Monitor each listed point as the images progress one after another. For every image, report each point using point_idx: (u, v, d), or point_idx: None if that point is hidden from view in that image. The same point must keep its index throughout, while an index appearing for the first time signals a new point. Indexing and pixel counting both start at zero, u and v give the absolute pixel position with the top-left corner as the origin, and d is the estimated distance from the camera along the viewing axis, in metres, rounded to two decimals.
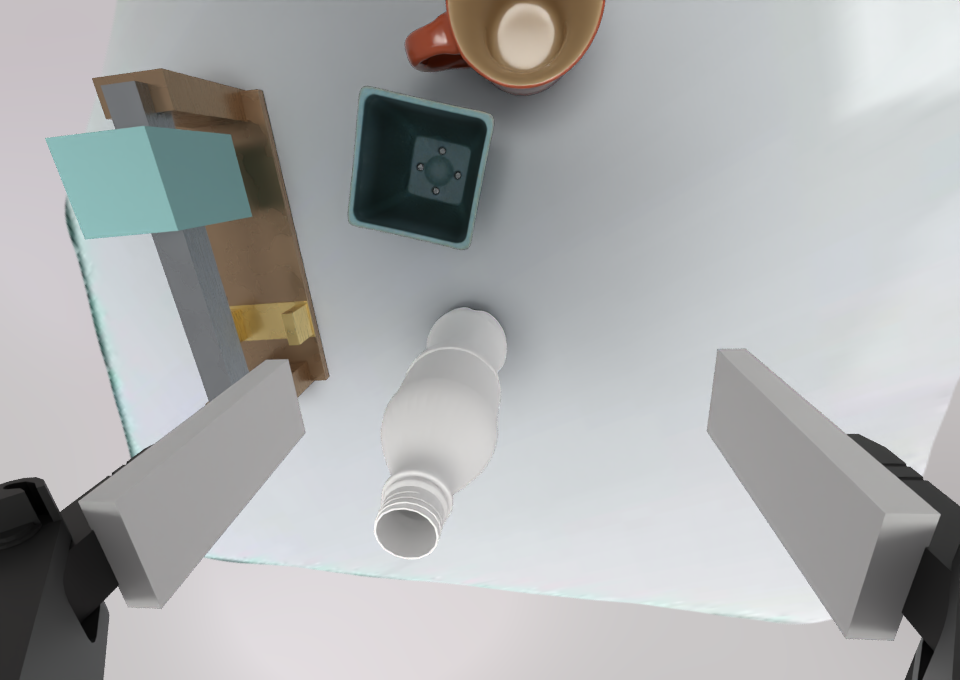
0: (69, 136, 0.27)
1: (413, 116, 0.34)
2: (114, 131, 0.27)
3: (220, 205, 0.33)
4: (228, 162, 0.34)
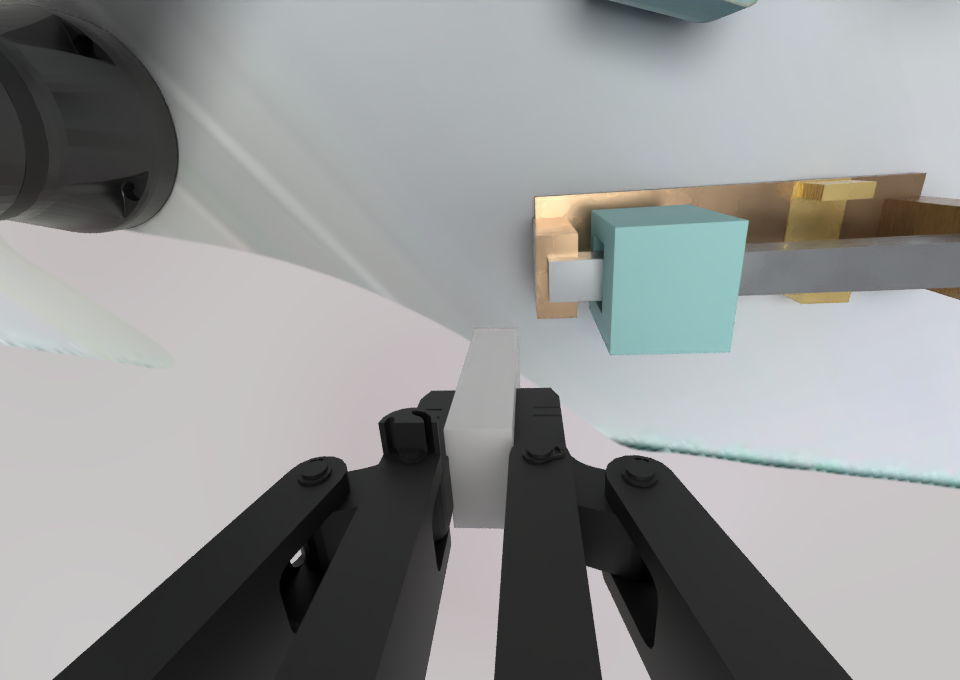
0: (612, 325, 0.23)
1: None
2: (615, 268, 0.22)
3: (687, 211, 0.26)
4: (626, 210, 0.28)
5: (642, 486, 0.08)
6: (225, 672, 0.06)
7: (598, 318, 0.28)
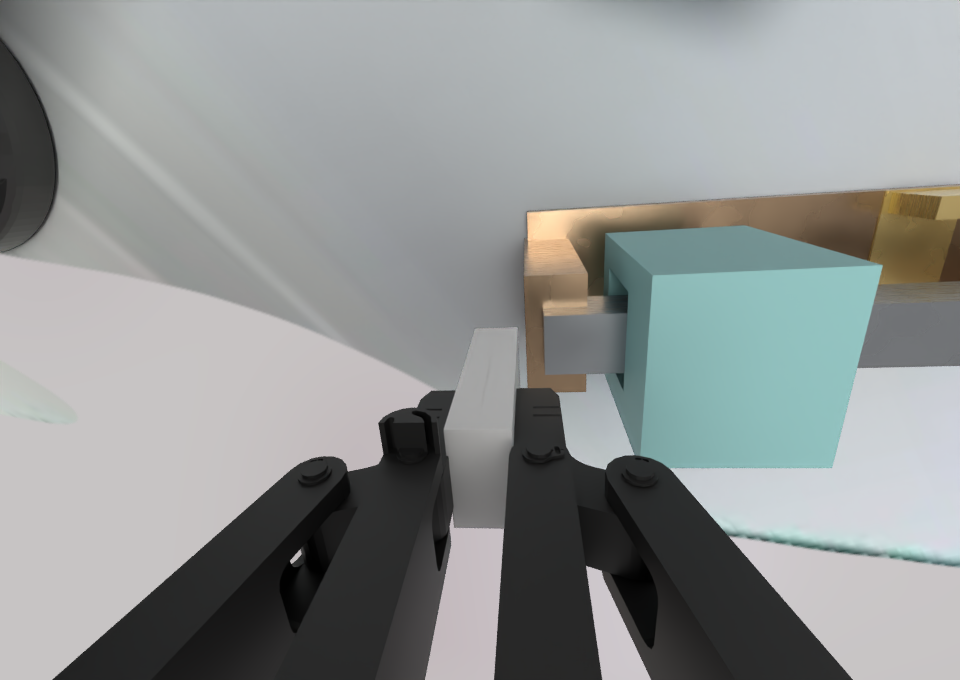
0: (644, 426, 0.15)
1: None
2: (651, 340, 0.14)
3: (754, 239, 0.17)
4: (657, 234, 0.19)
5: (642, 486, 0.08)
6: (225, 672, 0.06)
7: (617, 392, 0.19)
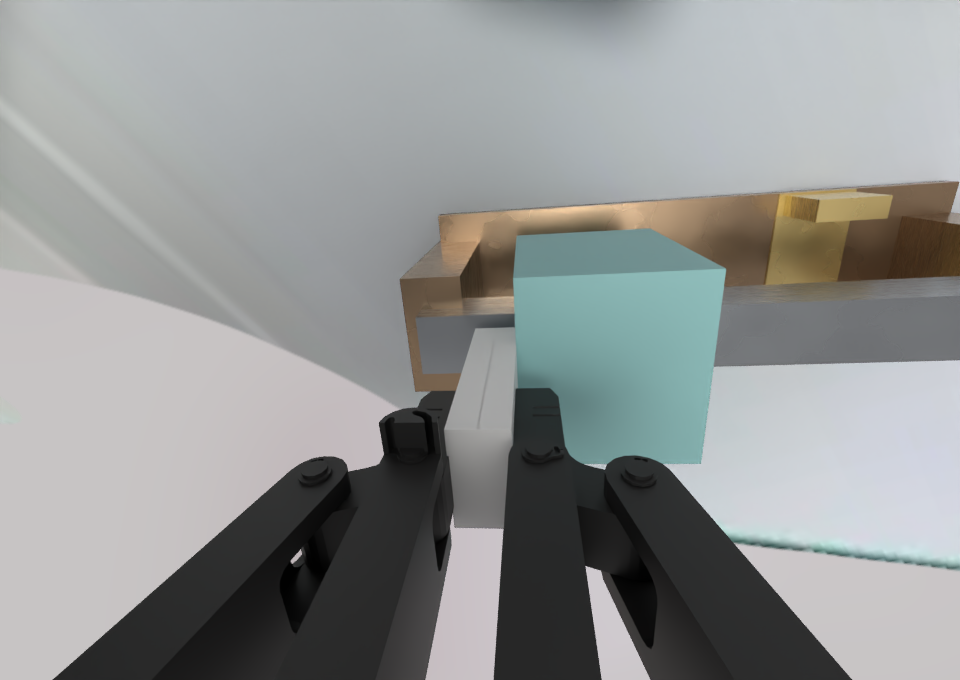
0: None
1: None
2: (518, 340, 0.14)
3: (642, 242, 0.17)
4: (561, 237, 0.20)
5: (641, 486, 0.08)
6: (225, 672, 0.06)
7: None
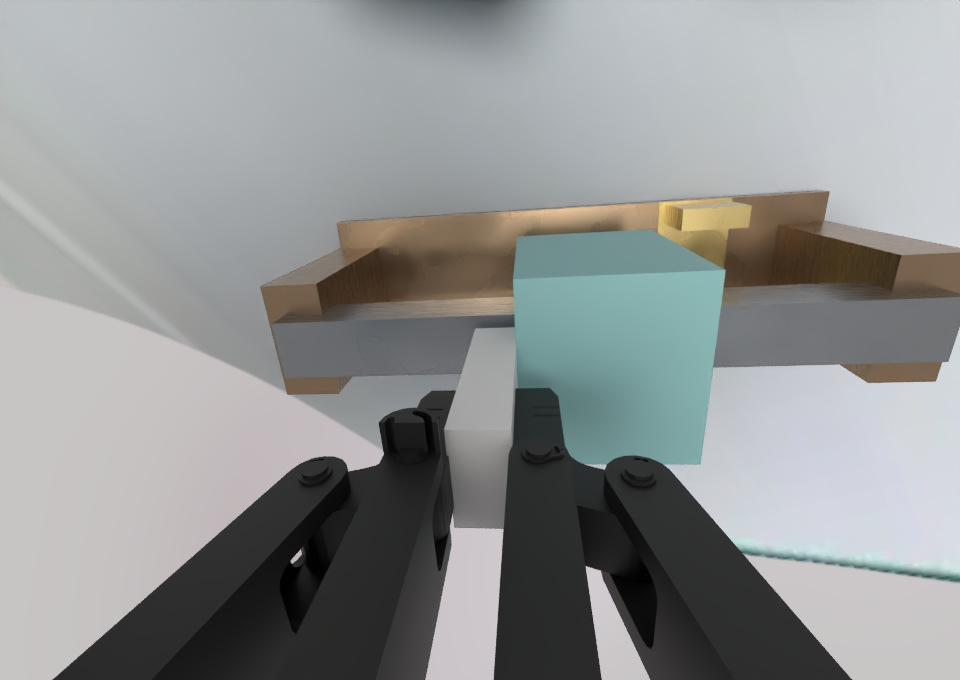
0: None
1: None
2: (518, 341, 0.14)
3: (642, 243, 0.17)
4: (562, 238, 0.20)
5: (641, 486, 0.08)
6: (225, 672, 0.06)
7: None
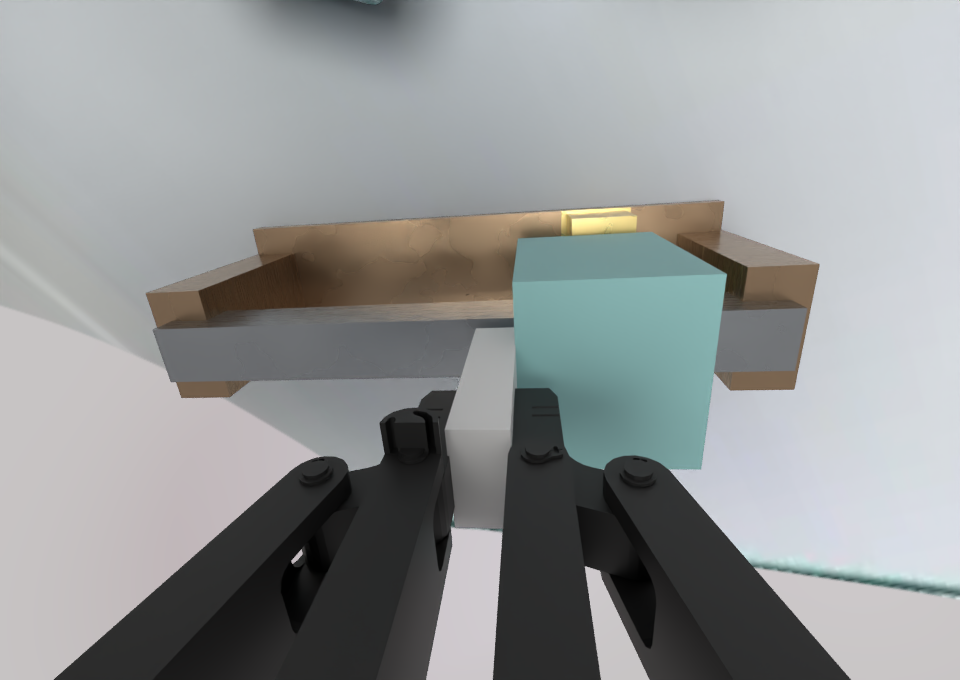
0: None
1: None
2: (518, 344, 0.14)
3: (643, 246, 0.17)
4: (562, 240, 0.20)
5: (640, 486, 0.08)
6: (226, 672, 0.06)
7: None
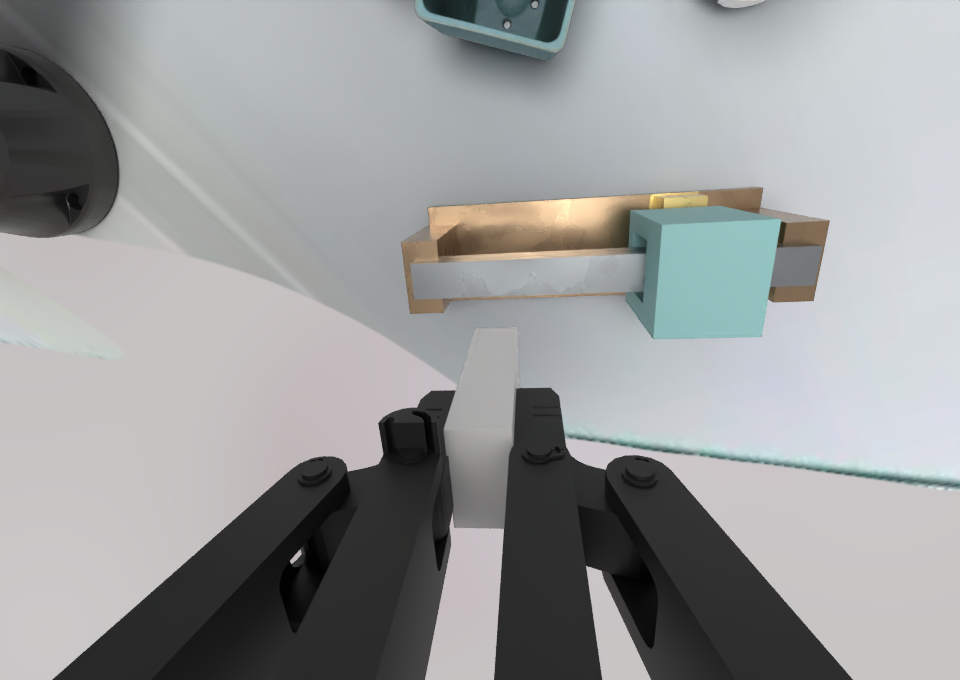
0: (656, 312, 0.26)
1: (452, 5, 0.30)
2: (661, 261, 0.25)
3: (721, 211, 0.28)
4: (664, 210, 0.31)
5: (642, 486, 0.08)
6: (225, 672, 0.06)
7: (638, 308, 0.30)
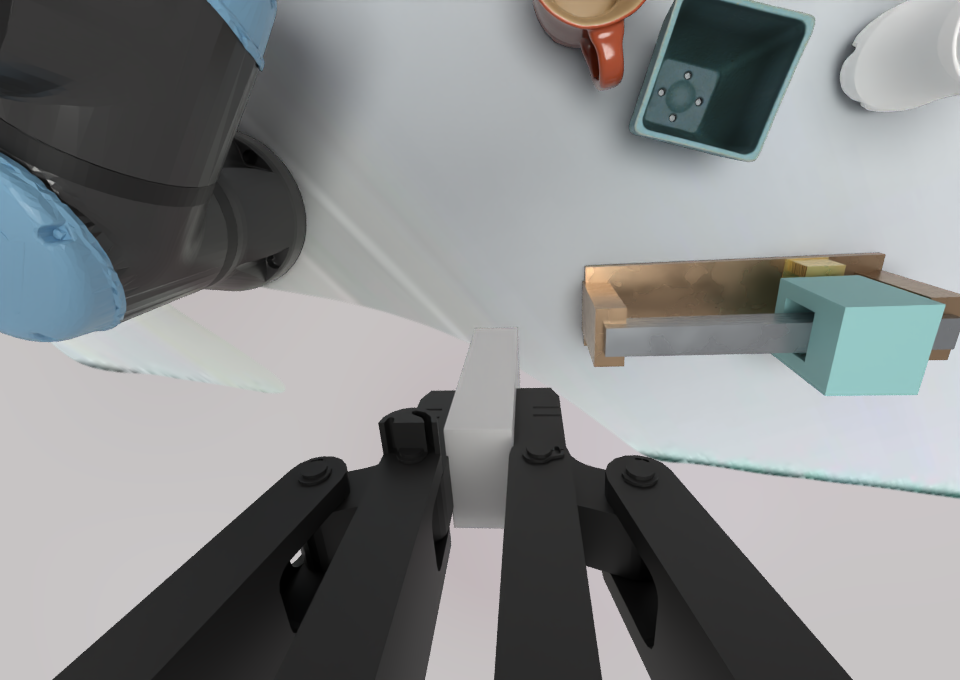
0: (831, 375, 0.32)
1: None
2: (840, 335, 0.31)
3: (873, 286, 0.34)
4: (814, 280, 0.36)
5: (642, 486, 0.08)
6: (225, 672, 0.06)
7: (794, 363, 0.36)
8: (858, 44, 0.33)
